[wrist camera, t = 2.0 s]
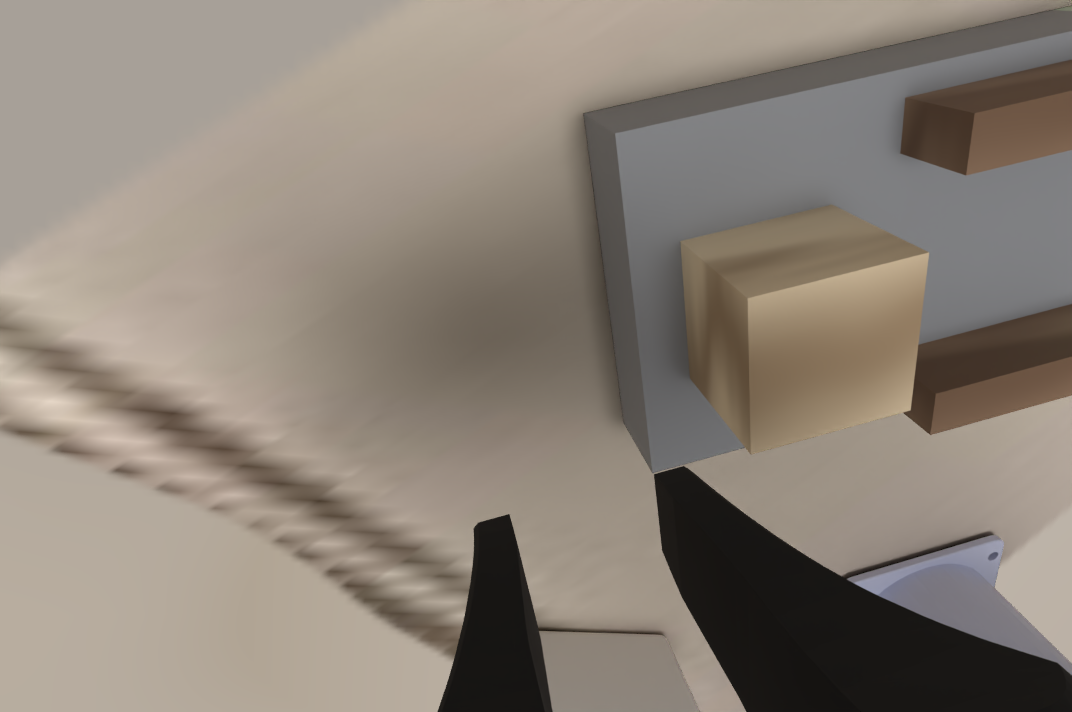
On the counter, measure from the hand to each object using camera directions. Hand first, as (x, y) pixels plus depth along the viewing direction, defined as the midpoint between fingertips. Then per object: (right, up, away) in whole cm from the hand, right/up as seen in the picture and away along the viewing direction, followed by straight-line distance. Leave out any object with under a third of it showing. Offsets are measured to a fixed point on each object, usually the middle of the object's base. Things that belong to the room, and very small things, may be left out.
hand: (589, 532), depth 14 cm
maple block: (+5, +5, +7) cm, 10 cm away
